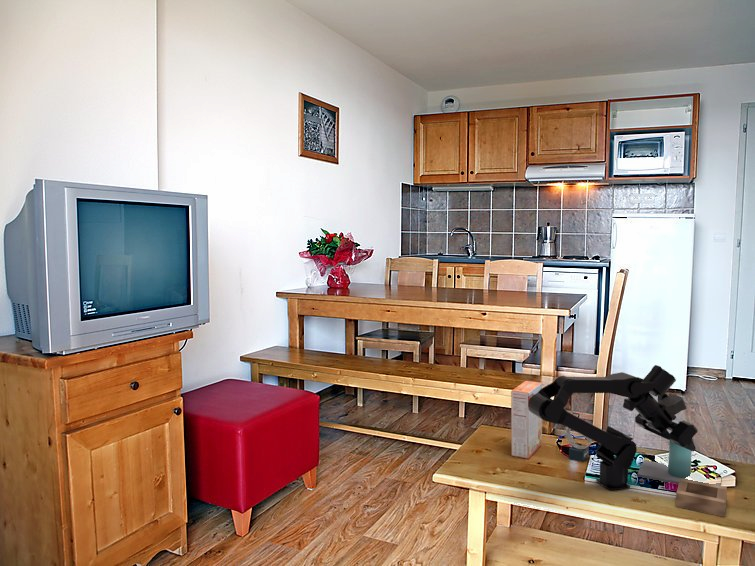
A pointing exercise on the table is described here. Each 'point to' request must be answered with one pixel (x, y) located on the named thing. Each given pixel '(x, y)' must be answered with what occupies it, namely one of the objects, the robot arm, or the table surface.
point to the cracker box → (525, 421)
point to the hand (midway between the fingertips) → (682, 444)
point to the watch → (577, 448)
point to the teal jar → (679, 461)
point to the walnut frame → (701, 497)
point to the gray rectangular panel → (658, 472)
